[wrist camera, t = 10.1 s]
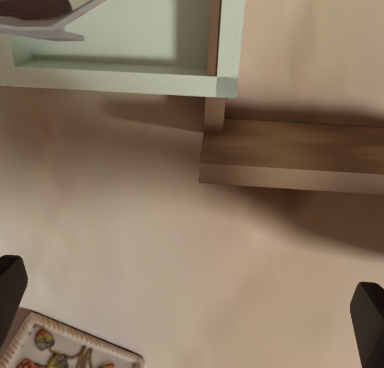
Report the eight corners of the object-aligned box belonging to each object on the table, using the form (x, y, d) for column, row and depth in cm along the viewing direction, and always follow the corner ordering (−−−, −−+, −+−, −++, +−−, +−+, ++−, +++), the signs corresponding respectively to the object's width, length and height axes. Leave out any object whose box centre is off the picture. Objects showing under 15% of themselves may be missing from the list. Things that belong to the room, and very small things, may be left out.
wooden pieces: (572, -153, 14) (782, -233, 9) (442, 147, 20) (518, 203, 15) (220, -159, 14) (220, -237, 9) (204, 133, 21) (199, 182, 16)
